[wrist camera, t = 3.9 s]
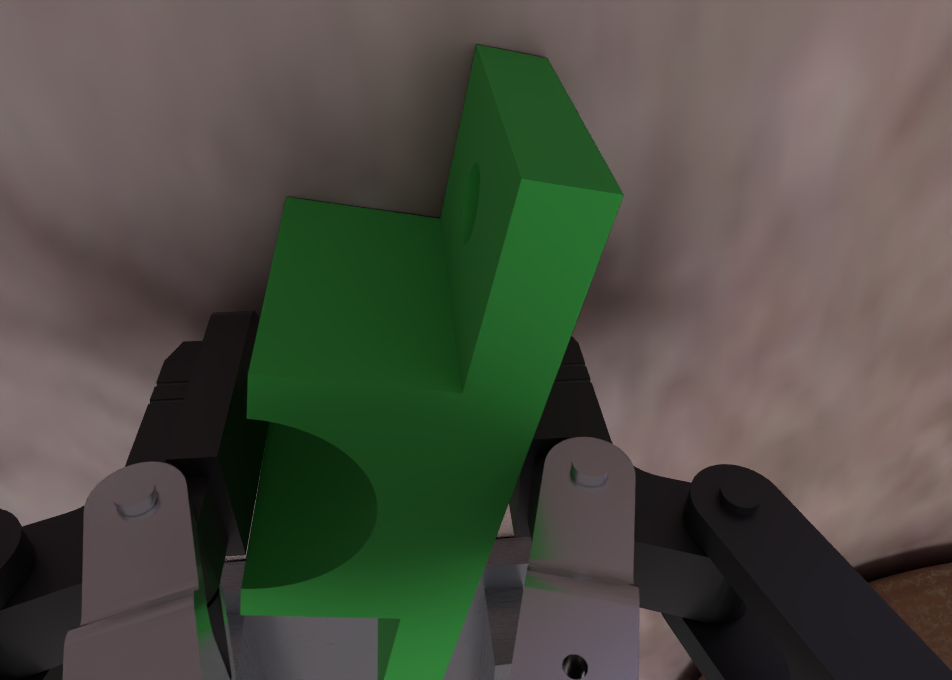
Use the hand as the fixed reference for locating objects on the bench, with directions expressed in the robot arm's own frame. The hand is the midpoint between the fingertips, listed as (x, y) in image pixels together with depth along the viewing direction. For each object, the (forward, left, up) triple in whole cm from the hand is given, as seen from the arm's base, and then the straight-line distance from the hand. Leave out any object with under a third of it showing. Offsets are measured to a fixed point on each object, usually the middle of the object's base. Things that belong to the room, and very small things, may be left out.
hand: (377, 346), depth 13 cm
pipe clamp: (0, 0, -1) cm, 1 cm away
